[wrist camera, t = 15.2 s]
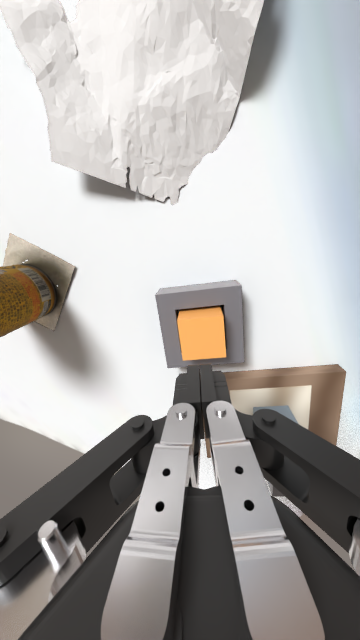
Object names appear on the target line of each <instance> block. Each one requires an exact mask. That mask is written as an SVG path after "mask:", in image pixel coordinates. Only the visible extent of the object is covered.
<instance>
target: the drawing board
mask: <svg viewBox="0 0 360 640" xmlns="http://www.w3.org/2000/svg"><path fill="white" fill-rule="evenodd" d="M223 374H224V375H225V378H226V382H227V386H228V390H229V394H230V399H231V403H232V405H233V407H234V408H235V409H236V410H237V411H239V412H241V413H244V414H248V415H253V407H266V406H286V405H288V406H289V408H290V410H291V411H292V413H293V415H294V417H295V419H296V420H297V422H298V424H299V425H301V426H303V427H304V428H306V429H308V430H309V431H311V432H313V433H315V434H316V435H318V436H320V437H321V438H323V439H325V440H327V441H328V442H330V443H332V444H333V445H335V446H336V443H337V435H338V428H339V420H340V413H341V406H342V398H343V391H344V384H345V376H346V371H345V370H344V369H343V368H341V367H340V366H339V365H338V364H335V365H321V366H307V367H293V368H279V369H265V370H251V371H237V372H224V373H223ZM200 378H201V377H200ZM203 420H204V418H203ZM204 432H205V427H204ZM205 441H206V449H207V458H211V451H210V442H209V438H207V439H206V436H205Z"/></svg>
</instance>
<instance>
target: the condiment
mask: <svg viewBox="0 0 360 640" xmlns="http://www.w3.org/2000/svg"><path fill="white" fill-rule="evenodd" d="M25 260H28V261H27V262H25ZM22 262H25V263H22ZM74 268H75V266H73V265H72V264H70V263H68V262H66V261H64V260H62V259H60V258H59V257H56V256H55V255H53V254H51V253H49V252H47V251H45V250H43V249H41V248H39V247H38V246H35V245H33V244H31V243H29V242H27V241H25V240H23V239H21V238H19V237H17V236H15V235H13V234H11V233H10V234H9V239H8V244H7V248H6V252H5V258H4V264H3V267H0V337H2V336H5V335H6V334H8V333H10V332H12V331H14V330H16V329H18V328H20V327H23V326H25V325H27V324H29V323H31V322H33V321H35V322H37V323H39V324H41V325H42V326H45V327H47V328H49V329H51V330H53V331H54V330H55V327H56V324H57V322H58V319H59V315H60V313H61V310H62V306H63V303H64V300H65V296H66V292H67V290H68V287H69V284H70V281H71V277H72V273H73V271H74ZM57 285H58V287H57Z"/></svg>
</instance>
